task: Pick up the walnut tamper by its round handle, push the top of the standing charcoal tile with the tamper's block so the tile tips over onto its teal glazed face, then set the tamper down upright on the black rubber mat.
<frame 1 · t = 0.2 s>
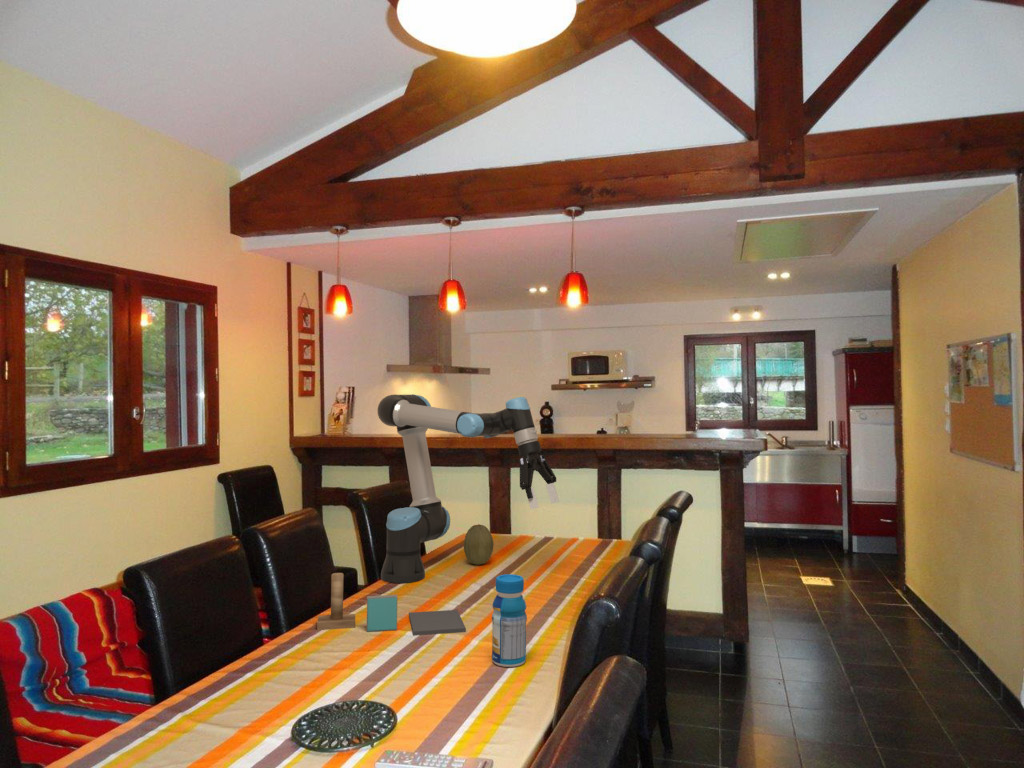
hand: (545, 505, 223), 28 cm above the table, tool tilted 20°, fingers open, 13 cm apart
beverage bottle: (508, 662, 163), on the table
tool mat: (436, 623, 189), on the table
tile: (381, 629, 184), on the table
fruit: (478, 564, 257), on the table
tamper: (336, 625, 187), on the table
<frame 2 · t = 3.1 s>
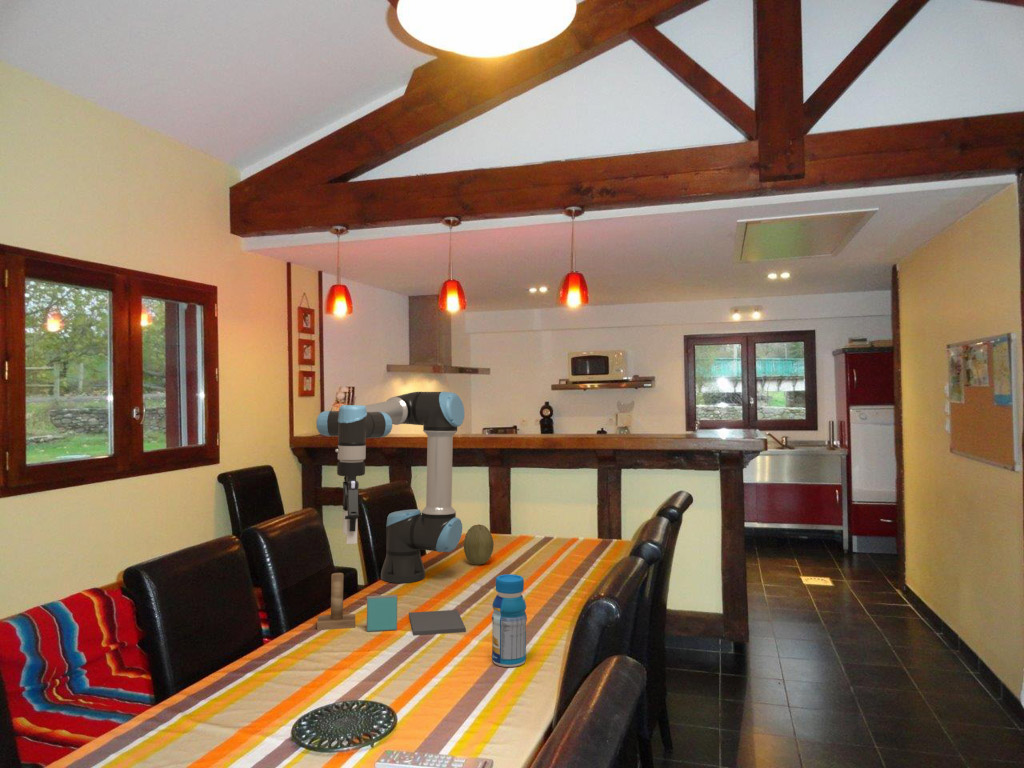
hand: (349, 538, 187), 24 cm above the table, tool pointing down, fingers open, 13 cm apart
nothing on the table moved.
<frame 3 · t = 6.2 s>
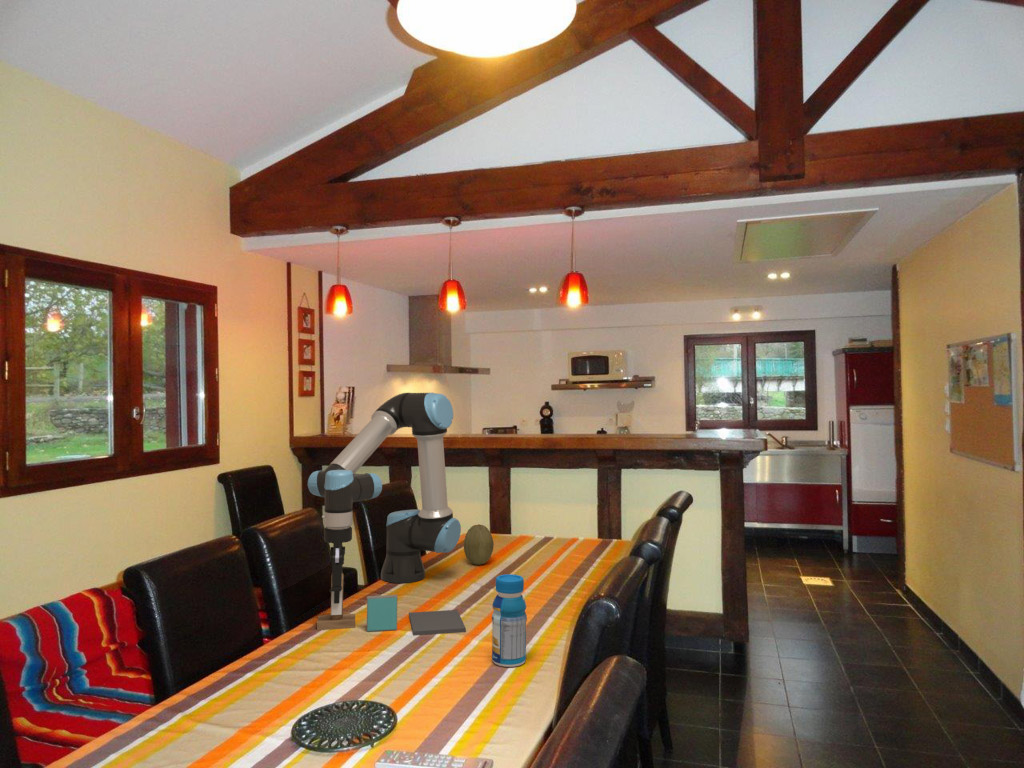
hand: (336, 612, 187), 4 cm above the table, tool pointing down, fingers closed on tamper, 3 cm apart
tamper: (336, 625, 187), on the table, touching gripper
everything else where it was.
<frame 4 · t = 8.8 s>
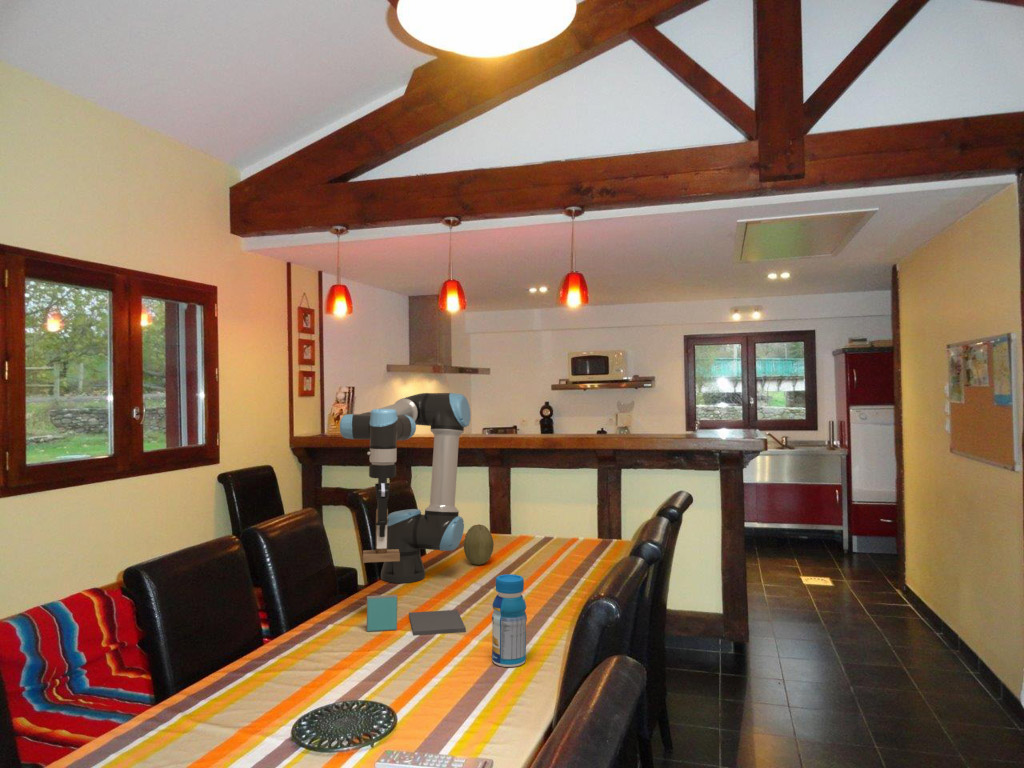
hand: (381, 546, 192), 21 cm above the table, tool pointing down, fingers closed on tamper, 3 cm apart
tamper: (381, 559, 192), point 17 cm above the table, touching gripper
everything else where it was.
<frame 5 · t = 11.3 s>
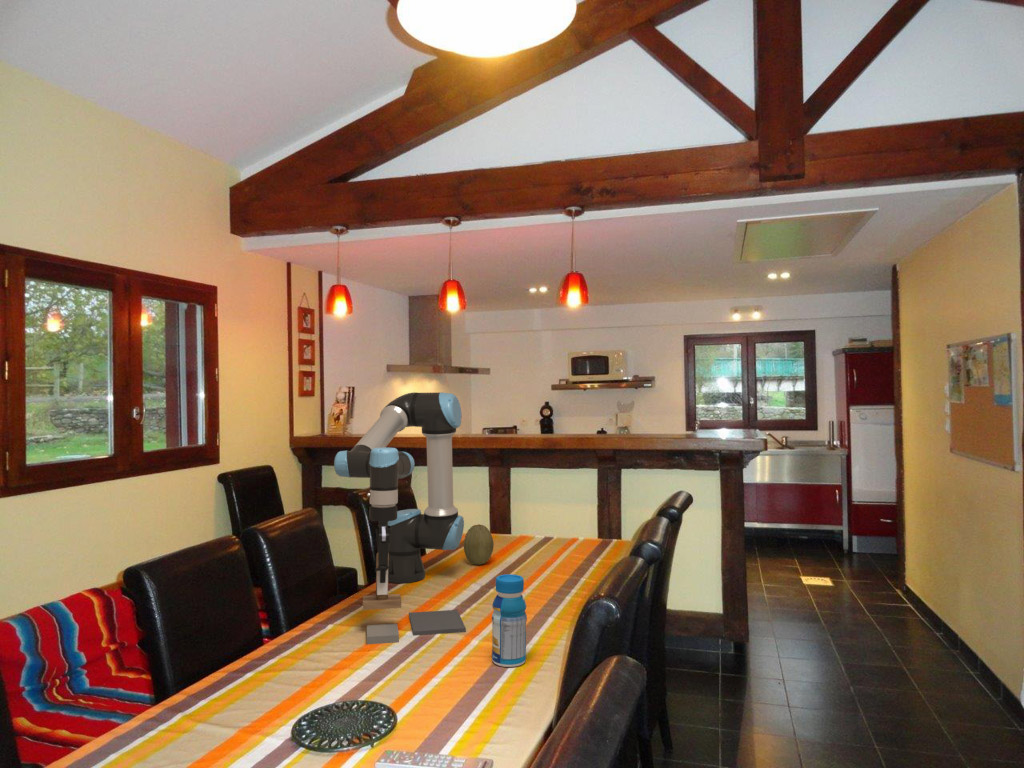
hand: (382, 592, 184), 10 cm above the table, tool pointing down, fingers closed on tamper, 3 cm apart
tile: (381, 628, 183), point 1 cm above the table, tilted 90°
tamper: (381, 605, 183), point 7 cm above the table, touching gripper
everything else where it was.
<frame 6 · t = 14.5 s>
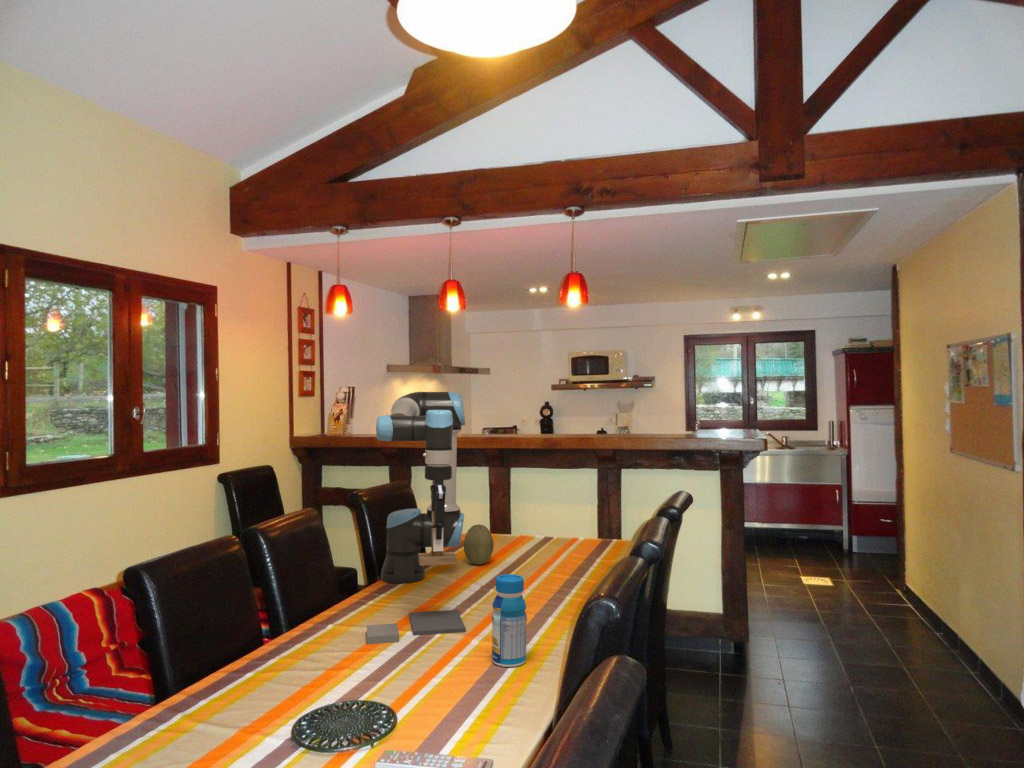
hand: (437, 549, 189), 21 cm above the table, tool pointing down, fingers closed on tamper, 3 cm apart
tamper: (437, 562, 189), point 17 cm above the table, touching gripper
everything else where it was.
when the fingers open (6 cm above the table, at t = 17.2 s): tamper drops 2 cm, resting on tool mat.
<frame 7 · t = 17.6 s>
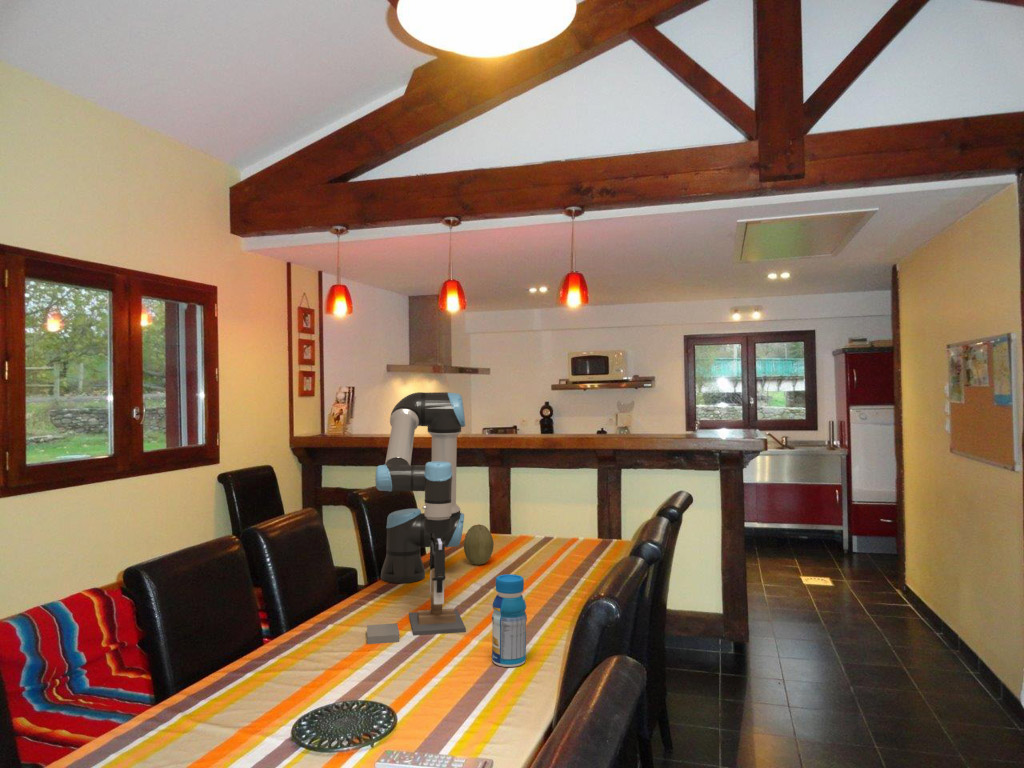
hand: (436, 598, 189), 7 cm above the table, tool pointing down, fingers open, 9 cm apart
tamper: (436, 620, 189), point 1 cm above the table, touching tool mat
everything else where it was.
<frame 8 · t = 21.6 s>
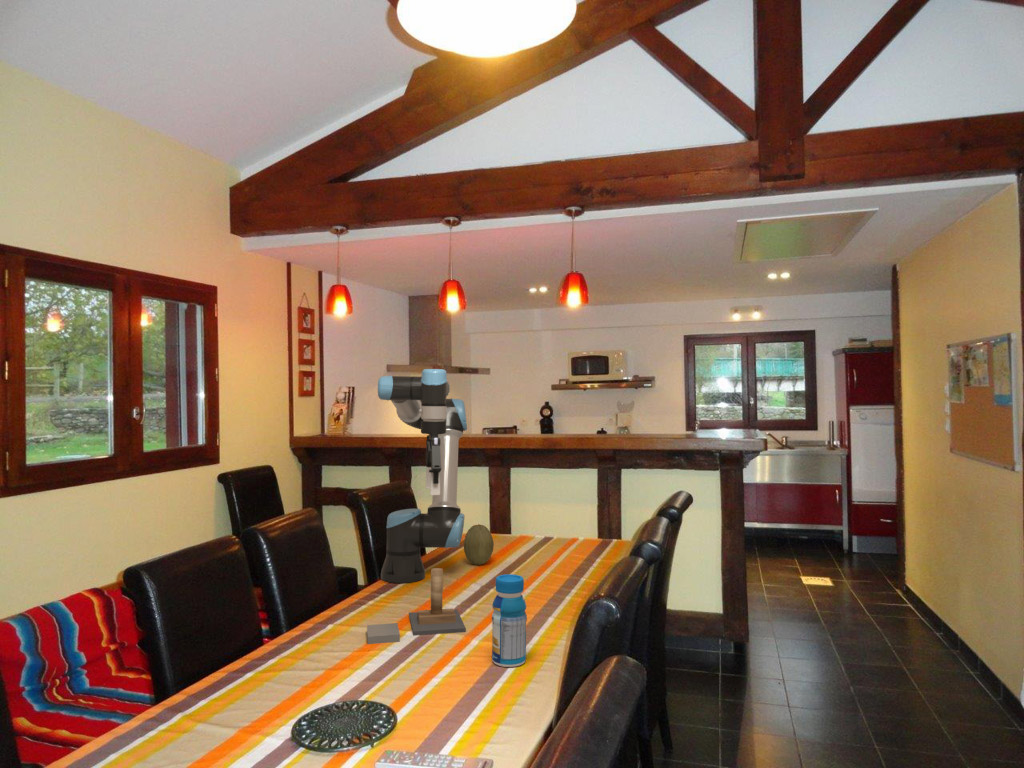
hand: (432, 491, 203), 35 cm above the table, tool pointing down, fingers open, 13 cm apart
nothing on the table moved.
at the end: tile tilted 90°; tamper 0.0 cm from the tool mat (horizontally); tamper tilted 0° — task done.
